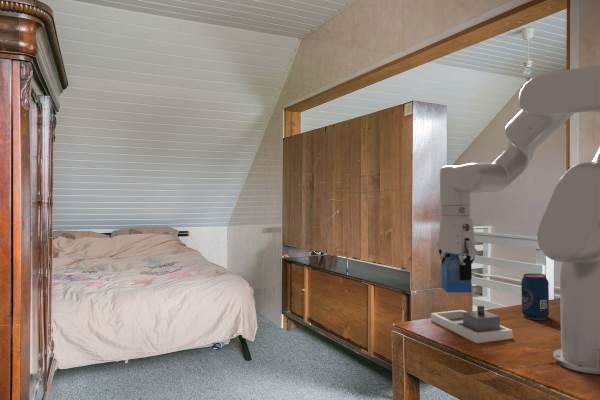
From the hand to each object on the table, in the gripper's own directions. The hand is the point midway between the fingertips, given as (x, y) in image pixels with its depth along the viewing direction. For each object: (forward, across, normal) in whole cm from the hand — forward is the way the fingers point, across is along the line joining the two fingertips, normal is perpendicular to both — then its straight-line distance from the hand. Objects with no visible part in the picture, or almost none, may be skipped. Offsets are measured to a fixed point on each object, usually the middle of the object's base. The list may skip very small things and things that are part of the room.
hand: (456, 276), depth 122 cm
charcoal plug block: (+13, -10, 0) cm, 16 cm away
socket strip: (+14, -5, 0) cm, 15 cm away
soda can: (+14, +1, -26) cm, 30 cm away
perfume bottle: (+4, 0, 0) cm, 4 cm away
